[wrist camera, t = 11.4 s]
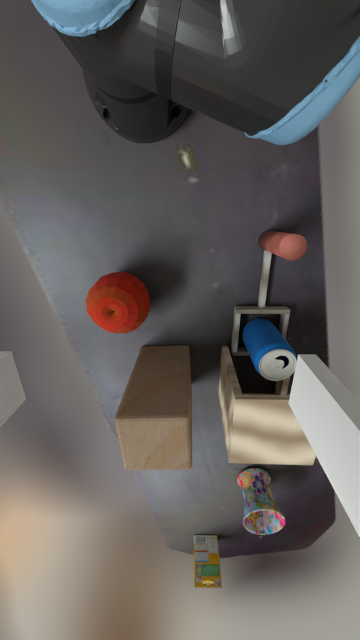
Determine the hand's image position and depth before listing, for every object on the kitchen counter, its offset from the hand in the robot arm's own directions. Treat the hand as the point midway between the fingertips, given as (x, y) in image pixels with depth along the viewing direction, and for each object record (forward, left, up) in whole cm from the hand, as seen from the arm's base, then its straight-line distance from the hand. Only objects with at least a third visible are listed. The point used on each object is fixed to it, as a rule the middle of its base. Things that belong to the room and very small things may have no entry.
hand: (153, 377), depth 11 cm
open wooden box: (+24, +15, -35) cm, 45 cm away
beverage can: (+14, +15, -35) cm, 41 cm away
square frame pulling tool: (+7, +15, -34) cm, 38 cm away
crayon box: (+84, +7, -35) cm, 91 cm away
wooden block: (+22, -3, -35) cm, 41 cm away
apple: (+6, -10, -35) cm, 37 cm away
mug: (+57, +19, -35) cm, 69 cm away
